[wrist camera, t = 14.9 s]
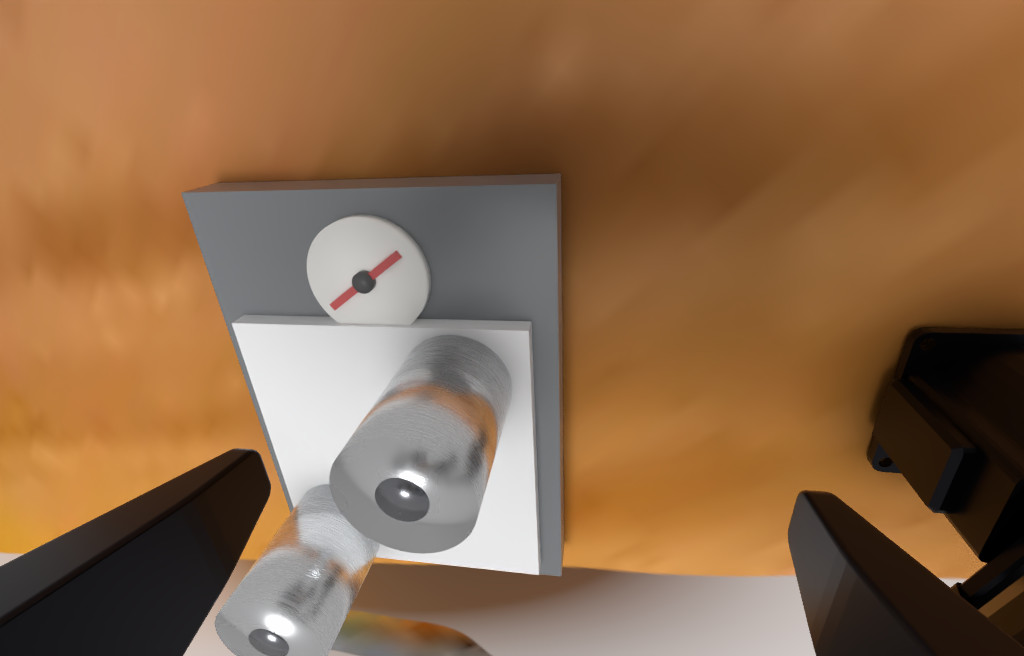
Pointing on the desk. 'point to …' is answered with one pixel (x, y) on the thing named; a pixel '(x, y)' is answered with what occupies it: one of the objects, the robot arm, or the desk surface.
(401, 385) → the spacer
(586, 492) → the desk surface
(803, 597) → the robot arm
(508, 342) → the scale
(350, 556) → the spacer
